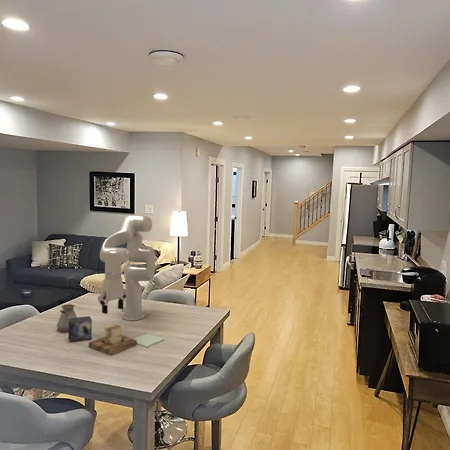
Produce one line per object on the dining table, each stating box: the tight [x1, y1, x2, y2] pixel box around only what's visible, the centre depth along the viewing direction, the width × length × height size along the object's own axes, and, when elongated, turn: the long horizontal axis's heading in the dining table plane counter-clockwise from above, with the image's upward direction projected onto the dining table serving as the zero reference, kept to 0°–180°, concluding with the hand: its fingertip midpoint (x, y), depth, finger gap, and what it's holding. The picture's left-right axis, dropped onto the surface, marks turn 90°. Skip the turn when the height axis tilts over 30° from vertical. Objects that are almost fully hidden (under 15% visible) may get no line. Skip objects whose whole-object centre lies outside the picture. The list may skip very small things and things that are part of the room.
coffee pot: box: [56, 303, 78, 333], centre depth 215 cm, size 21×12×15 cm, turn 7°
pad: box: [134, 333, 165, 348], centre depth 208 cm, size 12×12×1 cm
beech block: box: [104, 323, 122, 346], centre depth 199 cm, size 6×6×10 cm
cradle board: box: [88, 334, 138, 357], centre depth 200 cm, size 16×16×2 cm
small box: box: [67, 315, 93, 343], centre depth 207 cm, size 11×6×10 cm, turn 117°
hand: (112, 311), depth 197 cm, fingers open, 9 cm apart
